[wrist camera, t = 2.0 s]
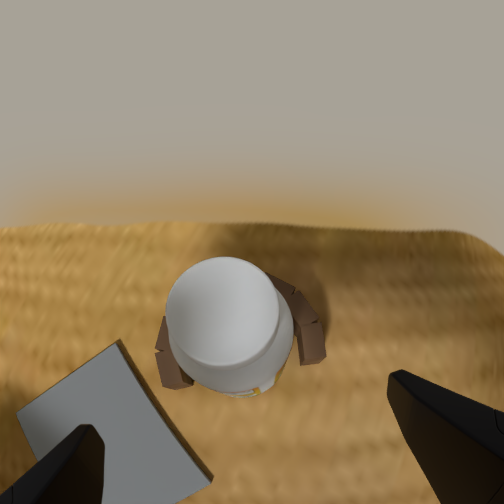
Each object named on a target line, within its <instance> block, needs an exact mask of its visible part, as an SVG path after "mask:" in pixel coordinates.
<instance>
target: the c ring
mask: <svg viewBox="0 0 504 504" xmlns="http://www.w3.org/2000/svg"><path fill="white" fill-rule="evenodd" d="M265 274H266V275H267V276H268V277H269V279H270V280H271V282H272V283H273V285H274V287H275V288H276V289H277V290H278V291H279V292H280V293H281V295H282V296H283V297H284V299H285V301H286V303H287V304H288V307H289V309H290V312H291V315H292V319H293V333H294V334H295V335H296V337H297V342H298V350H299V359H300V366H302V365H310V364H317V363H320V362H321V361H322V360H323V359H324V358H325V357H326V350H325V343H324V336H323V330H322V323H321V322H318V323H317V321H318V319H319V316H318V315H317V314H316V312H315V311H314V310H313V308H312V307H311V306H310V304H309V303H308V302H307V300H306V299H305V298H304V296H303V295H302V294H301V292H300V291H297V292H296V293H294V291H295V287H294V286H292V285H290V284H288V283H286V282H284V281H282V280H280V279H278V278H276V277H274V276H272V275H270V274H268V273H266V272H265ZM155 348H156V349H157V350H159V351H160V352H158V353H155V356H156V361H157V365H158V369H159V374H160V378H161V382H162V386H163V387H166V388H170V389H173V390H177V389H181V388H185V387H189V386H193V385H192V381H191V377H190V376H188V375H187V374H186V373H185V372H184V371H183V369H182V368H181V367H180V366H179V364H178V363H177V361H176V359H175V357H174V355H173V353H172V350H171V347H170V343H169V335H168V327H167V323H166V316H163V320H162V324H161V327H160V331H159V335H158V339H157V342H156V346H155Z"/></svg>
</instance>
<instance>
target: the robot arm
mask: <svg viewBox="0 0 504 504" xmlns="http://www.w3.org/2000/svg"><path fill="white" fill-rule="evenodd" d="M387 398H388V401H389V403H390V406H391V408H392V410H393V413H394V415H395V417H396V420H397V422H398V424H399V427H400V429H401V432H402V434H403V436H404V438H405V440H406V442H407V444H408V446H409V447H410V449H411V451H412V453H413V454H414V456H415V458H416V460H417V462H418V463H419V465H420V467H421V469H422V470H423V472H424V474H425V476H426V478H427V479H428V481H429V483H430V485H431V487H432V488H433V490H434V492H435V494H436V496H437V498H438V499H439V501H440V503H441V504H504V412H501V411H499V410H496V409H493V408H491V407H489V406H486V405H484V404H482V403H479V402H477V401H474V400H472V399H469V398H467V397H465V396H462V395H460V394H458V393H455V392H453V391H451V390H448V389H446V388H444V387H441V386H439V385H437V384H434V383H432V382H430V381H428V380H425V379H423V378H421V377H419V376H416V375H414V374H412V373H410V372H407V371H405V370H402V369H401V370H398V371H395V372H392V373H390V374H389V378H388V387H387ZM104 463H105V443H104V441H103V439H102V438H101V436H100V435H99V433H98V432H97V430H96V429H95V427H94V426H93V425H92V424H80V425H79V426H77V427H76V428H75V429H74V430H73V431H72V432H71V433H70V434H69V435H67V436H66V437H65V438H64V439H63V440H62V441H61V442H60V443H59V444H57V445H56V446H55V447H54V448H53V449H52V450H51V451H50V452H49V453H47V454H46V455H45V456H44V457H43V458H42V459H41V460H40V461H38V462H37V463H36V464H35V465H34V466H33V467H32V468H31V469H29V470H28V471H27V472H26V473H25V474H24V475H23V476H22V477H20V478H19V479H18V480H17V481H16V482H15V483H14V484H13V486H12V485H11V486H10V487H9V488H8V489H7V490H6V491H5V492H3V493H2V494H1V495H0V504H102V497H103V488H104Z"/></svg>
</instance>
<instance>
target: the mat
mask: <svg viewBox="0 0 504 504" xmlns="http://www.w3.org/2000/svg"><path fill="white" fill-rule="evenodd" d="M16 415H17V418H18V420H19V422H20V425H21V427H22V429H23V432H24V434H25V436H26V438H27V440H28V442H29V445H30V447H31V449H32V451H33V453H34V455H35V457H36V459H37V461H40V460H41V459H42V458H43V457H44V456H45V455H46V454H47V453H49V452H50V451H51V450H52V449H53V448H54V447H55V446H56V445H57V444H59V443H60V442H61V441H62V440H63V439H64V438H65V437H66V436H67V435H69V434H70V433H71V432H72V431H73V430H74V429H75V428H76V427H77V426H79V425H80V424H92V425H93V426H94V427H95V429H96V430H97V432H98V433H99V435H100V436H101V438H102V439H103V441H104V443H105V463H104V488H103V497H102V504H175V503H177V502H179V501H181V500H182V499H184V498H186V497H188V496H190V495H192V494H193V493H195V492H197V491H199V490H201V489H202V488H204V487H206V486H207V485H209V484H211V483H212V482H211V481H210V479H209V478H208V477H207V476H206V475H205V473H204V472H203V471H202V470H201V469H200V467H199V466H198V465H197V464H196V462H195V461H194V460H193V458H192V457H191V456H190V455H189V453H188V452H187V451H186V449H185V448H184V447H183V445H182V444H181V443H180V441H179V440H178V439H177V437H176V436H175V434H174V433H173V432H172V430H171V429H170V427H169V426H168V425H167V423H166V422H165V420H164V419H163V417H162V416H161V414H160V413H159V411H158V410H157V408H156V407H155V405H154V404H153V402H152V401H151V399H150V398H149V396H148V395H147V393H146V392H145V390H144V388H143V387H142V385H141V384H140V382H139V380H138V379H137V377H136V375H135V374H134V372H133V370H132V369H131V367H130V365H129V364H128V362H127V360H126V358H125V357H124V355H123V353H122V351H121V350H120V348H119V346H118V344H116V343H114V344H113V345H112V346H110V347H109V348H107V349H106V350H104V351H103V352H102V353H100V354H99V355H97V356H96V357H94V358H93V359H92V360H90V361H89V362H87V363H86V364H85V365H83V366H82V367H80V368H79V369H77V370H76V371H75V372H73V373H72V374H70V375H69V376H67V377H66V378H65V379H63V380H62V381H60V382H59V383H58V384H56V385H55V386H53V387H52V388H50V389H49V390H48V391H46V392H45V393H43V394H42V395H41V396H39V397H38V398H36V399H35V400H33V401H32V402H31V403H29V404H28V405H26V406H25V407H24V408H22V409H21V410H19V411H18V412H17V413H16Z"/></svg>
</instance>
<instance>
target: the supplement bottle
mask: <svg viewBox="0 0 504 504" xmlns="http://www.w3.org/2000/svg"><path fill="white" fill-rule="evenodd" d="M166 323H167V327H168V335H169V343H170V347H171V350H172V353H173V355H174V357H175V359H176V361H177V363H178V364H179V366H180V367H181V368H182V369H183V371H184V372H185V373H186V374H187V375H188V376H190V377H191V378H192V379H193V380H195V381H196V382H198V383H199V384H201V385H203V386H205V387H207V388H209V389H212V390H214V391H217V392H220V393H222V394H225V395H228V396H232V397H239V398H245V397H251V396H255V395H258V394H261V393H263V392H265V391H266V390H268V389H269V388H270V387H271V386H273V385H274V384H275V382H276V381H277V380H278V379H279V377H280V376H281V374H282V372H283V369H284V367H285V364H286V361H287V358H288V356H289V353H290V351H291V348H292V342H293V319H292V315H291V312H290V309H289V307H288V304H287V303H286V301H285V299H284V297H283V296H282V295H281V293H280V292H279V291H278V290H277V289H276V288H275V287H274V285H273V283H272V282H271V280H270V279H269V277H268V276H267V275H266V274H265V273H264V272H263V271H262V270H261V269H259V268H258V267H257V266H255V265H253V264H252V263H250V262H248V261H245V260H242V259H239V258H234V257H215V258H210V259H207V260H203V261H201V262H199V263H197V264H195V265H193V266H192V267H190V268H189V269H187V270H186V271H185V272H184V273H183V274H182V275H181V276H180V277H179V278H178V279H177V281H176V282H175V283H174V285H173V287H172V289H171V291H170V293H169V296H168V299H167V303H166Z"/></svg>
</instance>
